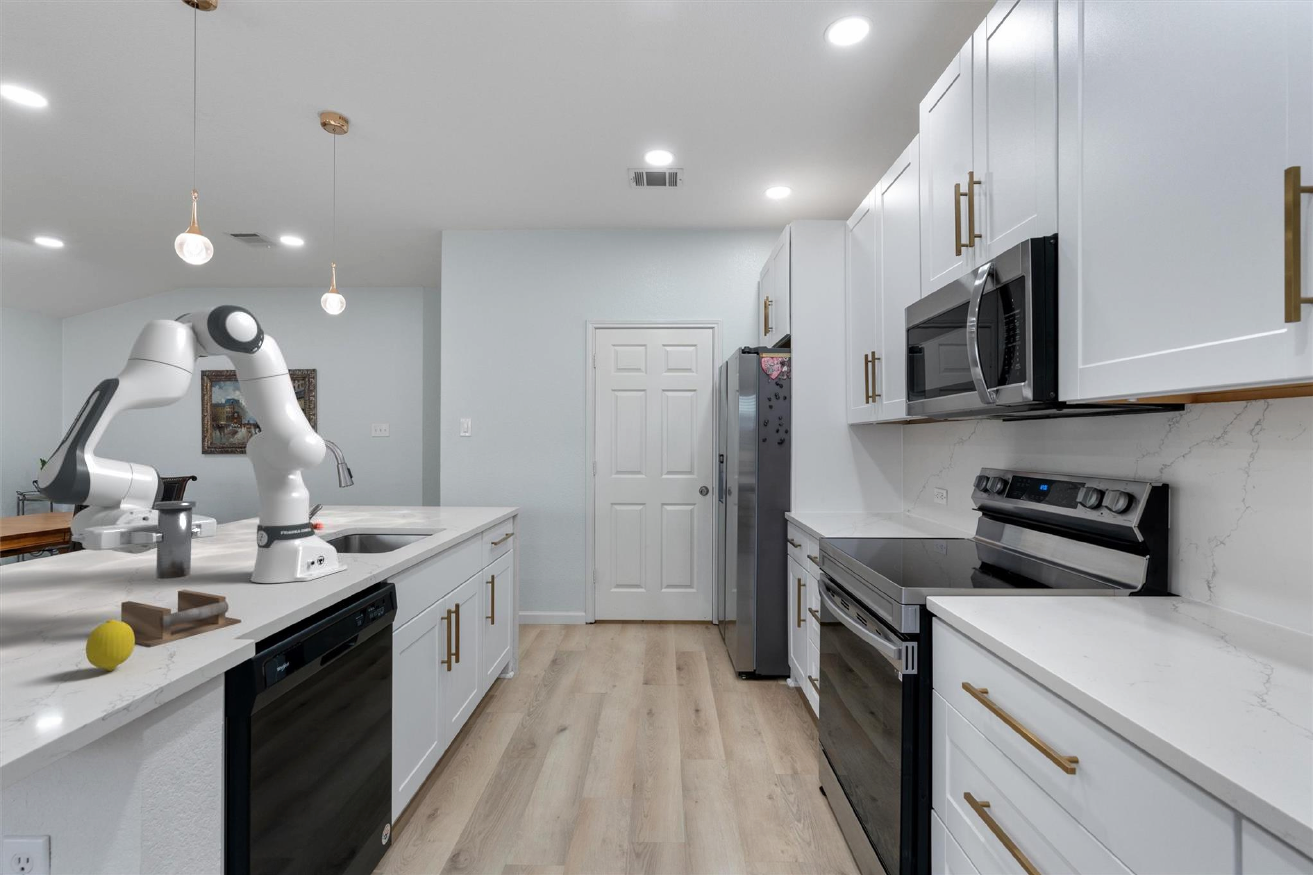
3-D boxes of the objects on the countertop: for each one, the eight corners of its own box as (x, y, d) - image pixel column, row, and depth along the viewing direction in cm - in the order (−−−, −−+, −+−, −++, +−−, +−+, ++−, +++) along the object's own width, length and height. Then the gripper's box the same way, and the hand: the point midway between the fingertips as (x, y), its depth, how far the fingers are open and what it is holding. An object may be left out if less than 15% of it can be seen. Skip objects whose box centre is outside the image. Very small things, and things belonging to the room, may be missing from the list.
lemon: (110, 678, 87) (111, 625, 87) (74, 677, 87) (75, 624, 87) (144, 664, 93) (144, 614, 93) (110, 663, 93) (110, 613, 93)
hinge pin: (181, 571, 114) (184, 500, 114) (200, 574, 111) (202, 501, 112) (145, 577, 108) (147, 502, 108) (164, 580, 106) (166, 504, 106)
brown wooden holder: (193, 613, 120) (194, 586, 120) (241, 622, 114) (241, 594, 114) (102, 635, 106) (102, 605, 106) (150, 646, 100) (151, 615, 100)
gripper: (66, 520, 105) (109, 525, 100) (192, 510, 124) (233, 513, 119) (65, 555, 105) (108, 562, 100) (191, 539, 124) (233, 544, 119)
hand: (177, 535), depth 110 cm, fingers closed on hinge pin, 5 cm apart
